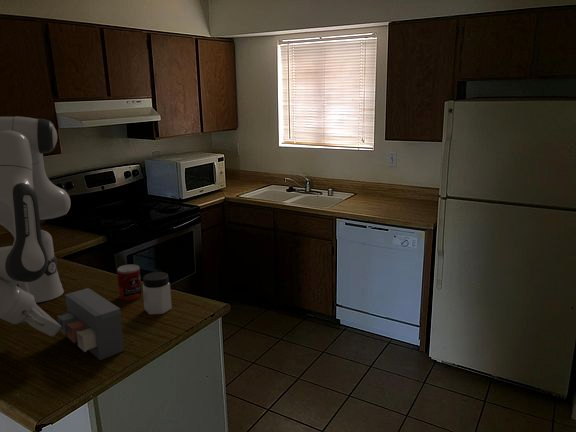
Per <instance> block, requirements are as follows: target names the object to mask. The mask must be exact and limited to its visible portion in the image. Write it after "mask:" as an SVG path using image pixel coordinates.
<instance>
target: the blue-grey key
mask: <svg viewBox="0 0 576 432" xmlns="http://www.w3.org/2000/svg"><path fill="white" fill-rule="evenodd" d="M73 322H76V321H75V316H74V315H73V314H71V313H68V314H67V313H64V314H61V315H60V314H59V315H57V323H59V324H60V325H61V326H62V329H61V330H60V332H62V333H63V334H64V335H66V334H67V335H68V333H67V325H66V323H73Z"/></svg>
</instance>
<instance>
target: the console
mask: <svg viewBox="0 0 576 432" xmlns="http://www.w3.org/2000/svg"><path fill="white" fill-rule="evenodd" d="M64 297H65V306H66V314H68V313H71V314H73V315H74V316H75V321H79V320H80V321H82V322H83V323H84V324H85V329H89V328H91V329H92V330H93V331H94V332H96V341H97V347H94V348H91V349H89V350H88V352H90V353H91V354H92V355H93V356H95V357H96V358H97V360H99V361H102V360H104V359H107V358H109V357H113V356H114V355H117V354H120V353H122V352H124V351H125V345H124V335H123V325H122V315H121V314H122V313H121V308H120V307H118V306H117V305H115V304H114V303H112V302H110V301H109V300H108V299H106V298H105V297H103V296H101V295H100V294H98V293H97V292H95V291H94V290H92V289H91V288H89V287H87V288H84V289H79V290H77V291H73V292H69V293H65V294H64Z"/></svg>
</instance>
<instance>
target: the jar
mask: <svg viewBox="0 0 576 432" xmlns="http://www.w3.org/2000/svg"><path fill="white" fill-rule="evenodd" d="M142 281H143V284H142V293H143V294H142V296H143V306H144V311H146V312H147V314H148V315H162V314H165V313H167V312H168V311H170V310H172V307H173V306H172V294H171V283H170V282H169V281H170V280H169V274H168V273H166V272H164V271H154V272H148V273H146V274H145V275H143V276H142Z"/></svg>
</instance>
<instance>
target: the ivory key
mask: <svg viewBox="0 0 576 432" xmlns="http://www.w3.org/2000/svg"><path fill="white" fill-rule="evenodd" d="M76 333H77V341H76V342H77V347H78V348H80V349H81V350H82V351H83V352H84V353H86V352H87V351H89V349H91V348H94V347H97V341H96V332H94V331H93V330H92V329H91V328H89V329H86V330H83V331H80V332H79V331H77V332H76Z"/></svg>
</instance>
